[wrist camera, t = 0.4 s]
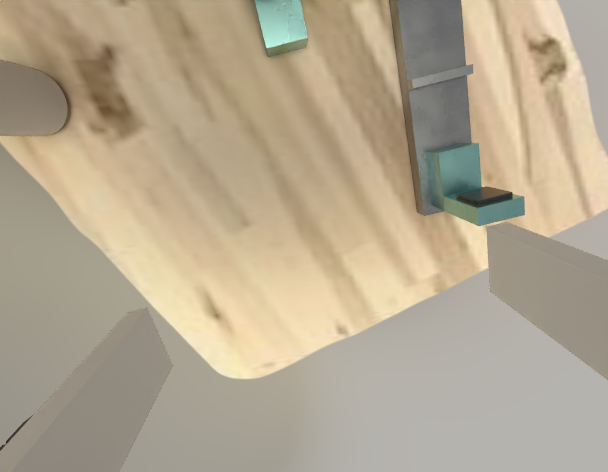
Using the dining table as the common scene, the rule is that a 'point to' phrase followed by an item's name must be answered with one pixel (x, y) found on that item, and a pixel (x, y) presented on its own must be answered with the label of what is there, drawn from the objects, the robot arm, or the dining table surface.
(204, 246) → the dining table surface
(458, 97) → the rail
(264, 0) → the teal block
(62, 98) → the beverage can
